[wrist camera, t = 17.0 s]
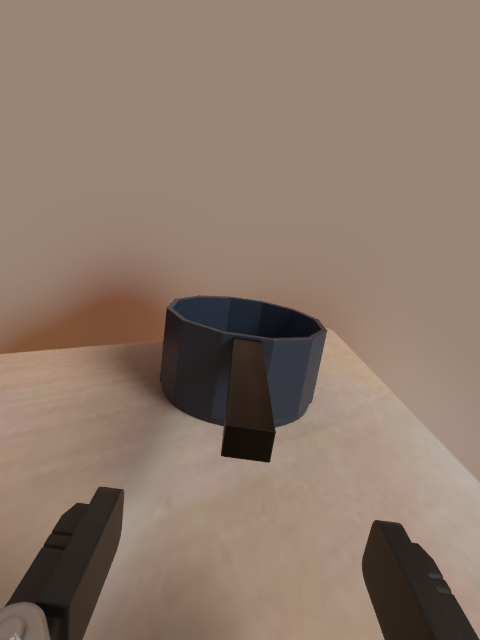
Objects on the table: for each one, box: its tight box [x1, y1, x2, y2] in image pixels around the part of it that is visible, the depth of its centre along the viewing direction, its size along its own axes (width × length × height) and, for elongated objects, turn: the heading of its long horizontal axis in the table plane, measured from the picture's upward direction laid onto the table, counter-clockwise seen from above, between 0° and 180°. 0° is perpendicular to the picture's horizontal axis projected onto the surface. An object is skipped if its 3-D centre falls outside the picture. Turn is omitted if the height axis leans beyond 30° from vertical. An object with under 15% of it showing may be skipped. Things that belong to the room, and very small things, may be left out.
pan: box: [160, 296, 327, 463], centre depth 30 cm, size 15×28×8 cm, turn 179°
